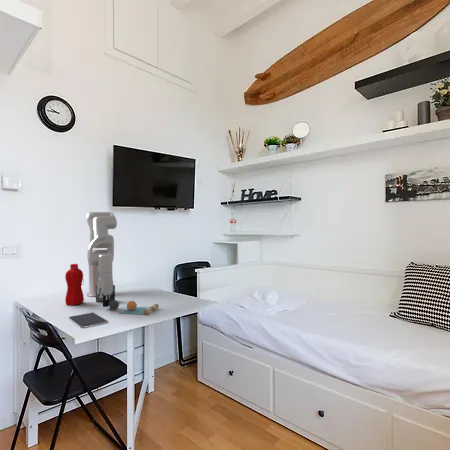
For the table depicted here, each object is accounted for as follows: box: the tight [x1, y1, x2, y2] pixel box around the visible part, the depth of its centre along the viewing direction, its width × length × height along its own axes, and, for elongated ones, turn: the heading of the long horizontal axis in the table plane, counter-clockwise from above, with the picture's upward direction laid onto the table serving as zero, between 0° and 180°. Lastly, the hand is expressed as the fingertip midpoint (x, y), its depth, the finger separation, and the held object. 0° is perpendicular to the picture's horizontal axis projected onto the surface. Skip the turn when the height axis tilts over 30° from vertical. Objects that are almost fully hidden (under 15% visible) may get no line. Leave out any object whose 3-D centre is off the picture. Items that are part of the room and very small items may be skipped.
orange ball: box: [126, 300, 138, 311], centre depth 184 cm, size 6×6×6 cm
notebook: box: [68, 311, 109, 328], centre depth 166 cm, size 13×2×21 cm
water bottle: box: [64, 263, 85, 306], centre depth 201 cm, size 9×11×25 cm
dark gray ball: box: [108, 299, 120, 311], centre depth 186 cm, size 6×6×6 cm
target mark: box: [119, 306, 149, 316], centre depth 183 cm, size 14×14×1 cm
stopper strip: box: [143, 303, 159, 316], centre depth 181 cm, size 14×2×2 cm, turn 167°
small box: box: [95, 284, 116, 304], centre depth 206 cm, size 11×6×10 cm, turn 74°
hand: (106, 306), depth 188 cm, fingers closed
